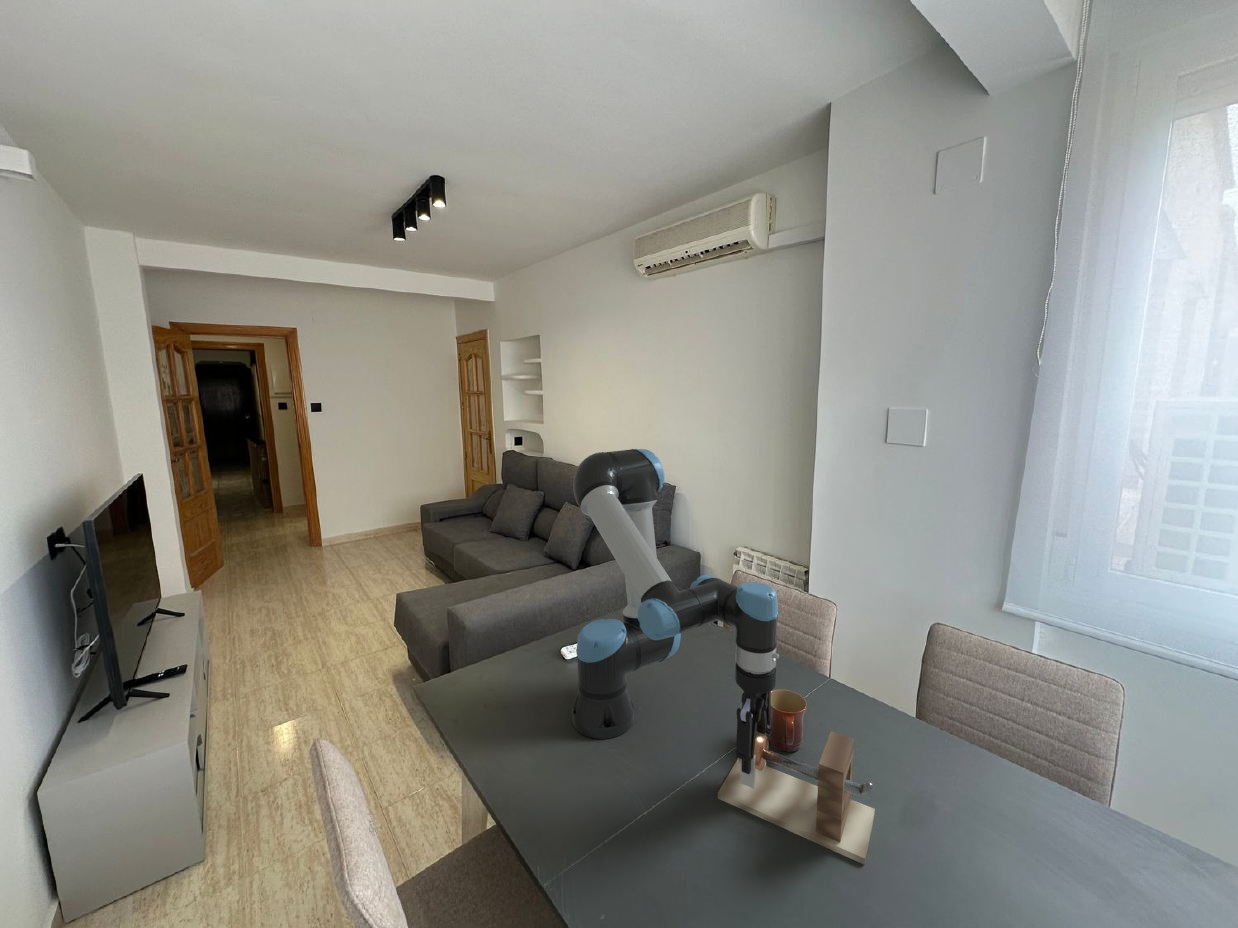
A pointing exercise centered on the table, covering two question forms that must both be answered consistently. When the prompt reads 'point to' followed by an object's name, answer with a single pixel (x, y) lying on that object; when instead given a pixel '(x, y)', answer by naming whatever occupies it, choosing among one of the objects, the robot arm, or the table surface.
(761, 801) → the board
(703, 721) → the table surface
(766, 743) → the copper and grey mallet
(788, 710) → the mug
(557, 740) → the table surface
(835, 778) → the eye block
